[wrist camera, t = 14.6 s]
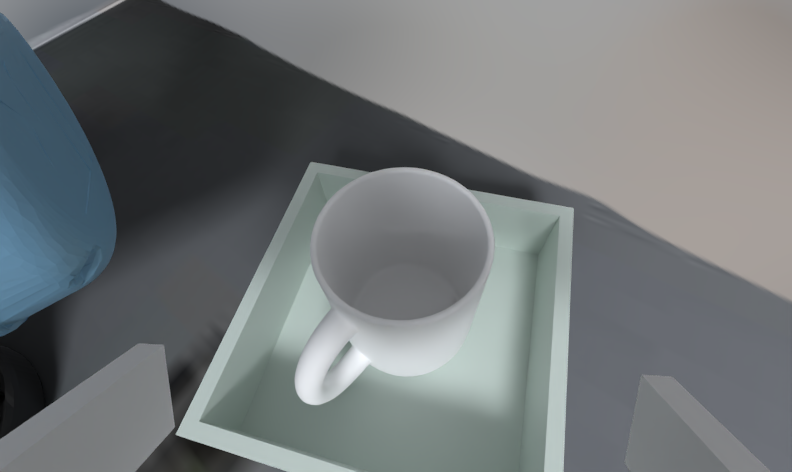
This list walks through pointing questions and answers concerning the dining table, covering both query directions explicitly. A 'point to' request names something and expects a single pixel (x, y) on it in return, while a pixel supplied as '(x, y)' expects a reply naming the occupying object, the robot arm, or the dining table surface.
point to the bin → (396, 395)
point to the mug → (394, 277)
